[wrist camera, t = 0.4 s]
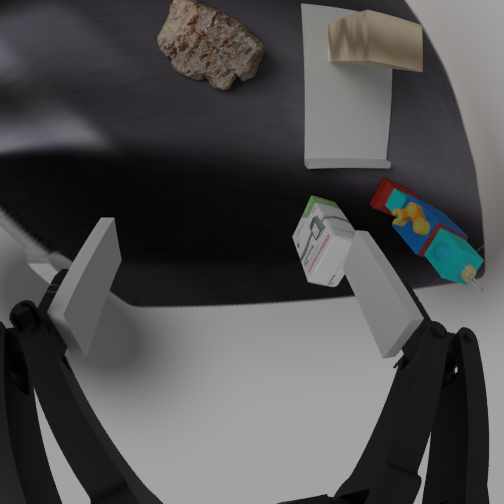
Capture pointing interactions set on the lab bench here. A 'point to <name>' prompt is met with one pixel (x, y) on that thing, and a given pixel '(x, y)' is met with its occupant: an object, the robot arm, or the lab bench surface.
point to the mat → (342, 101)
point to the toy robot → (428, 232)
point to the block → (376, 41)
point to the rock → (209, 44)
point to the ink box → (323, 241)
